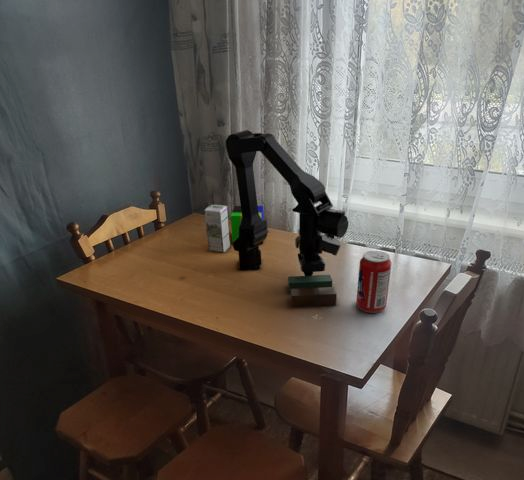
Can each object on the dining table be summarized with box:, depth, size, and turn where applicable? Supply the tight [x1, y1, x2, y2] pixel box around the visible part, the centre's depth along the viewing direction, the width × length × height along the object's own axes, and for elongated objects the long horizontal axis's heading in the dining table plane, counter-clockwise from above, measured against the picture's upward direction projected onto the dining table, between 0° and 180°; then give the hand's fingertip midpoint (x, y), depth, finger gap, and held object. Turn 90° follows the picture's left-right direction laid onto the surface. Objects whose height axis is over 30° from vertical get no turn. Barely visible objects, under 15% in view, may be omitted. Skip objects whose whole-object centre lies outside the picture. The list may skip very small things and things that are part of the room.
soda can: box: [355, 250, 392, 314], centre depth 127 cm, size 8×8×15 cm
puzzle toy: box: [230, 205, 265, 244], centre depth 170 cm, size 10×10×10 cm
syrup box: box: [204, 204, 231, 253], centre depth 162 cm, size 6×6×14 cm
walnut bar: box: [289, 286, 337, 308], centre depth 133 cm, size 12×4×4 cm, turn 92°
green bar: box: [287, 274, 333, 295], centre depth 139 cm, size 12×4×4 cm, turn 92°
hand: (308, 280), depth 142 cm, fingers closed
